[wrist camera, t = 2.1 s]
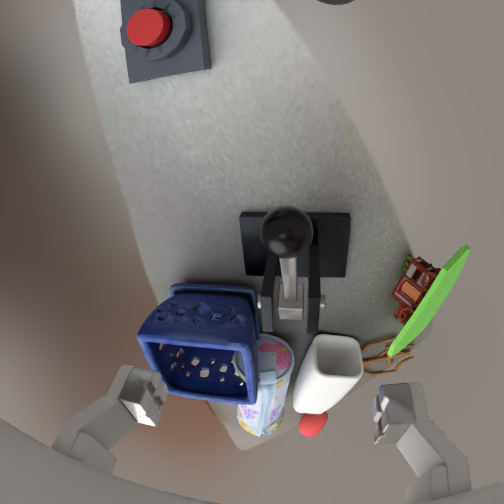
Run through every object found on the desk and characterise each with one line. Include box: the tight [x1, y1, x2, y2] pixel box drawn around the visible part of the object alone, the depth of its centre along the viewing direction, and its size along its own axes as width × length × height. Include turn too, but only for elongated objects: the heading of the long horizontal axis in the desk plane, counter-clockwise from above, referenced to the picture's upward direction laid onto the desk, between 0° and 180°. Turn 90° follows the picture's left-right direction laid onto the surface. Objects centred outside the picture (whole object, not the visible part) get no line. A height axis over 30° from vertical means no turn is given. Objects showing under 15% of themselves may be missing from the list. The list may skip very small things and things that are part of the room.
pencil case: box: [233, 333, 295, 437], centre depth 47 cm, size 21×9×10 cm, turn 179°
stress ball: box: [299, 411, 328, 437], centre depth 57 cm, size 5×9×6 cm
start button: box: [127, 9, 171, 46], centre depth 21 cm, size 4×4×2 cm
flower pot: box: [137, 283, 259, 405], centre depth 39 cm, size 13×13×12 cm
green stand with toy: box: [387, 245, 471, 357], centre depth 34 cm, size 15×15×6 cm
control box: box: [120, 0, 211, 84], centre depth 23 cm, size 10×8×4 cm
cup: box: [293, 334, 364, 414], centre depth 45 cm, size 7×7×15 cm
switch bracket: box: [239, 212, 351, 334], centre depth 31 cm, size 8×12×12 cm, turn 95°
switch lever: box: [260, 205, 313, 320], centre depth 23 cm, size 14×3×3 cm, turn 4°
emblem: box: [361, 337, 414, 376], centre depth 45 cm, size 12×10×1 cm
